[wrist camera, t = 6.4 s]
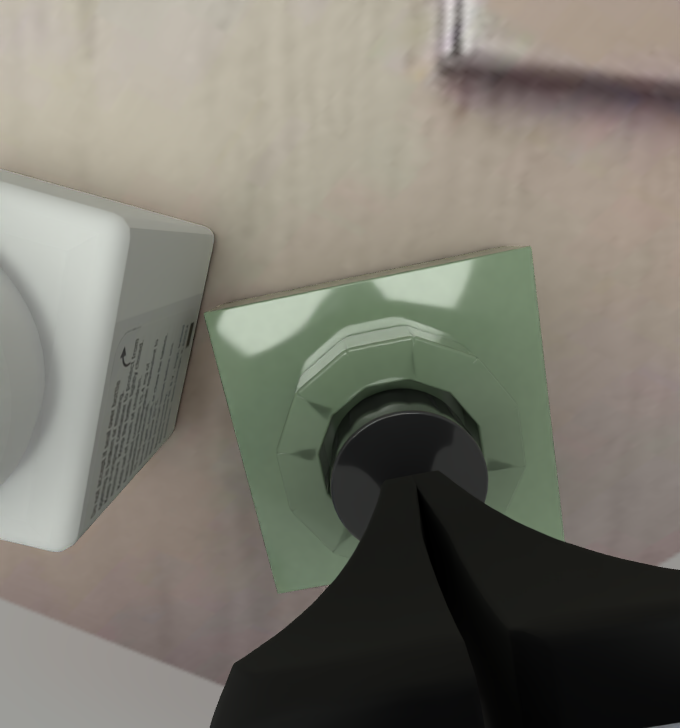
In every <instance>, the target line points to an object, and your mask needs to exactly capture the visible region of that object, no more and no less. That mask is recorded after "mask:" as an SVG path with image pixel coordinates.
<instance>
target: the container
mask: <svg viewBox="0 0 680 728" xmlns="http://www.w3.org/2000/svg"><path fill="white" fill-rule="evenodd" d="M213 244H214V235H213V233H212V231H211V230H210V229H209V228H207V227H206V226H203V225H199V224H196V223H192V222H189V221H185V220H182V219H178V218H174V217H171V216H167V215H164V214H160V213H157V212H153V211H150V210H146V209H143V208H139V207H135V206H132V205H128V204H125V203H121V202H118V201H114V200H111V199H107V198H104V197H100V196H96V195H93V194H89V193H86V192H82V191H79V190H75V189H72V188H68V187H64V186H61V185H57V184H54V183H50V182H47V181H43V180H40V179H36V178H33V177H29V176H25V175H22V174H18V173H15V172H11V171H8V170H4V169H1V168H0V539H1V540H5V541H9V542H14V543H18V544H22V545H26V546H31V547H35V548H39V549H43V550H47V551H52V552H61V551H63V550H65V549H67V548H69V547H71V546H72V545H74V544H75V543H76V542H77V540H78V539H79V538H80V537H81V536H82V535H83V534H84V533H85V531H86V530H87V529H88V528H89V527H90V526H91V525H92V524H93V522H94V521H95V520H96V519H97V518H98V517H99V516H100V515H101V513H102V512H103V511H104V510H105V509H106V508H107V507H108V506H109V504H110V503H111V502H112V501H113V500H114V499H115V498H116V497H117V495H118V494H119V493H120V492H121V491H122V490H123V489H124V488H125V486H126V485H127V484H128V483H129V482H130V481H131V480H132V479H133V477H134V476H135V475H136V474H137V473H138V472H139V471H140V470H141V468H142V467H143V466H144V465H145V464H146V463H147V462H148V461H149V459H150V458H151V457H152V456H153V455H154V454H155V453H156V452H157V450H158V449H159V448H160V447H161V446H162V445H163V444H164V443H165V441H166V440H167V439H168V438H169V437H170V436H171V434H172V433H173V431H174V427H175V422H176V417H177V412H178V408H179V403H180V398H181V394H182V389H183V384H184V380H185V375H186V370H187V366H188V361H189V356H190V352H191V347H192V342H193V338H194V333H195V328H196V324H197V319H198V314H199V310H200V305H201V300H202V296H203V291H204V286H205V282H206V277H207V272H208V268H209V263H210V258H211V253H212V249H213Z"/></svg>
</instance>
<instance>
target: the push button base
mask: <svg viewBox="0 0 680 728" xmlns="http://www.w3.org/2000/svg"><path fill="white" fill-rule="evenodd" d="M204 318H205V321H206V325H207V329H208V333H209V336H210V340H211V344H212V348H213V351H214V355H215V359H216V363H217V367H218V370H219V374H220V378H221V382H222V385H223V389H224V393H225V397H226V400H227V404H228V408H229V412H230V416H231V419H232V423H233V427H234V431H235V434H236V438H237V442H238V446H239V449H240V453H241V457H242V461H243V465H244V468H245V472H246V476H247V480H248V483H249V487H250V491H251V495H252V499H253V502H254V506H255V510H256V514H257V517H258V521H259V525H260V529H261V532H262V536H263V540H264V544H265V548H266V551H267V555H268V559H269V563H270V566H271V570H272V574H273V578H274V581H275V585H276V589H277V592H278V594H280V593H285V592H291V591H296V590H302V589H308V588H313V587H319V586H324V585H330V584H331V583H332V582H333V581H334V580H335V579H336V577H337V576H338V575H339V573H340V572H341V570H342V569H343V568H344V566H345V565H346V563H347V562H348V560H349V559H350V557H351V556H352V554H353V552H354V551H355V549H356V547H357V545H358V544H359V542H360V541H359V540H358V539H356V538H355V537H354V536H353V535H352V534H351V533H350V532H349V531H348V530H347V529H346V528H345V526H344V525H343V524H342V522H341V521H340V519H339V518H338V515H337V513H336V511H335V509H334V506H333V503H332V499H331V492H330V471H331V449H332V442H333V439H334V435H335V433H336V430H337V428H338V426H339V424H340V423H341V421H342V419H343V418H344V417H345V415H346V414H347V413H348V412H349V411H350V410H351V409H352V408H353V407H354V406H355V405H357V404H358V403H359V402H361V401H362V400H364V399H365V398H367V397H369V396H371V395H374V394H376V393H379V392H382V391H386V390H392V389H413V390H418V391H422V392H426V393H428V394H431V395H433V396H435V397H437V398H439V399H440V400H442V401H443V402H445V403H446V404H447V405H448V406H449V407H450V408H451V409H453V410H454V411H455V413H456V414H457V415H458V417H459V418H460V419H461V421H462V422H463V424H464V425H465V427H466V428H467V429H468V431H469V432H470V434H471V435H472V437H473V438H474V439H475V441H476V442H477V444H478V445H479V447H480V449H481V451H482V453H483V455H484V458H485V461H486V465H487V469H488V491H487V496H486V500H485V504H487V505H488V506H490V507H491V508H493V509H495V510H497V511H498V512H500V513H502V514H504V515H506V516H507V517H509V518H511V519H513V520H515V521H517V522H519V523H521V524H523V525H525V526H527V527H530V528H532V529H534V530H536V531H539V532H541V533H543V534H546V535H548V536H550V537H553V538H556V539H558V540H561V541H564V542H565V540H564V531H563V523H562V514H561V505H560V496H559V487H558V479H557V470H556V461H555V452H554V443H553V434H552V426H551V417H550V408H549V399H548V390H547V382H546V373H545V364H544V355H543V346H542V337H541V329H540V320H539V311H538V302H537V293H536V285H535V276H534V267H533V258H532V249H531V246H502V247H497V248H492V249H487V250H482V251H477V252H472V253H468V254H463V255H458V256H453V257H448V258H443V259H438V260H433V261H429V262H424V263H419V264H414V265H409V266H404V267H399V268H394V269H390V270H385V271H380V272H375V273H370V274H365V275H360V276H356V277H351V278H346V279H341V280H336V281H331V282H326V283H321V284H317V285H312V286H307V287H302V288H297V289H292V290H287V291H282V292H278V293H273V294H268V295H263V296H258V297H253V298H248V299H243V300H239V301H234V302H229V303H224V304H221V305H219V306H217V307H215V308H213V309H211V310H209V311H207V312H205V313H204Z"/></svg>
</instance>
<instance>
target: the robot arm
mask: <svg viewBox="0 0 680 728" xmlns="http://www.w3.org/2000/svg"><path fill="white" fill-rule="evenodd" d="M210 728H680V570H676V569H668V568H663V567H657V566H652V565H648V564H643V563H639V562H634V561H629V560H625V559H620V558H617V557H613V556H609V555H605V554H601V553H598V552H595V551H591V550H588V549H585V548H582V547H579V546H576V545H573V544H569V543H567V542H564V541H561V540H558V539H556V538H553V537H550V536H548V535H546V534H543V533H541V532H539V531H536V530H534V529H532V528H530V527H527V526H525V525H523V524H521V523H519V522H517V521H515V520H513V519H511V518H509V517H507V516H506V515H504V514H502V513H500V512H498V511H497V510H495V509H493V508H491V507H490V506H488V505H487V504H485V503H483V502H482V501H480V500H479V499H477V498H476V497H474V496H473V495H471V494H470V493H468V492H467V491H466V490H464V489H463V488H462V487H460V486H459V485H458V484H456V483H455V482H454V481H452V480H451V479H450V478H448V477H447V476H446V475H444V474H443V473H441V472H440V471H439V470H436V471H431V472H426V473H420V474H415V475H410V476H404V477H399V478H394V479H388V480H385V481H384V482H383V484H382V485H381V490H380V495H379V498H378V501H377V504H376V507H375V510H374V512H373V515H372V517H371V519H370V522H369V524H368V526H367V528H366V530H365V532H364V534H363V536H362V538H361V540H360V542H359V544H358V545H357V547H356V549H355V551H354V552H353V554H352V556H351V557H350V559H349V560H348V562H347V563H346V565H345V566H344V568H343V569H342V570H341V572H340V573H339V575H338V576H337V577H336V579H335V580H334V581H333V582H332V583H331V584H330V585H329V586H328V588H327V589H326V590H325V591H324V592H323V593H322V594H321V595H320V596H319V597H318V599H317V600H316V601H315V602H314V603H313V604H312V605H311V606H310V607H308V608H307V609H306V610H305V611H304V612H303V613H302V614H301V615H300V616H299V617H297V618H296V619H295V620H294V621H293V622H292V623H290V624H289V625H288V626H287V627H286V628H284V629H283V630H282V631H281V632H279V633H278V634H277V635H275V636H274V637H273V638H271V639H270V640H268V641H267V642H265V643H264V644H262V645H261V646H260V647H258V648H257V649H255V650H254V651H252V652H251V653H250V654H248V655H247V656H245V657H244V658H242V659H241V660H239V661H237V662H236V663H234V665H233V666H232V669H231V671H230V674H229V677H228V679H227V682H226V684H225V687H224V689H223V692H222V694H221V696H220V699H219V702H218V704H217V707H216V710H215V712H214V715H213V718H212V722H211V725H210Z"/></svg>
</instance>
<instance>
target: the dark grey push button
mask: <svg viewBox="0 0 680 728" xmlns="http://www.w3.org/2000/svg"><path fill="white" fill-rule="evenodd" d="M436 470H439V471H440V472H441V473H443V474H444V475H446V476H447V477H448V478H450V479H451V480H452V481H454V482H455V483H456V484H458V485H459V486H460V487H462V488H463V489H464V490H466V491H467V492H468V493H470V494H471V495H473V496H474V497H476V498H477V499H479V500H480V501H482V502H483V503H485V500H486V496H487V491H488V469H487V465H486V461H485V458H484V455H483V453H482V451H481V449H480V447H479V445H478V444H477V442H476V441H475V439H474V438H473V437H472V435H471V434H470V432H469V431H468V429H467V428H466V427H465V425H464V424H463V422H462V421H461V419H460V418H459V417H458V415H457V414H456V413H455V411H454V410H453V409H451V408H450V407H449V406H448V405H447V404H446V403H445V402H443V401H442V400H440V399H439V398H437V397H435V396H433V395H431V394H428V393H426V392H422V391H418V390H413V389H392V390H386V391H382V392H379V393H376V394H374V395H371V396H369V397H367V398H365V399H364V400H362V401H361V402H359V403H358V404H357V405H355V406H354V407H353V408H352V409H351V410H350V411H349V412H348V413H347V414H346V415H345V417H344V418H343V419H342V421H341V423H340V424H339V426H338V428H337V430H336V433H335V435H334V439H333V442H332V449H331V471H330V492H331V499H332V503H333V506H334V509H335V511H336V513H337V515H338V518H339V519H340V521H341V522H342V524H343V525H344V526H345V528H346V529H347V530H348V531H349V532H350V533H351V534H352V535H353V536H354V537H355V538H356V539H358V540H359V541H360V540H361V538H362V536H363V534H364V532H365V530H366V528H367V526H368V524H369V522H370V519H371V517H372V515H373V512H374V510H375V507H376V504H377V501H378V498H379V495H380V490H381V485H382V484H383V482H384V481H385V480H388V479H394V478H399V477H404V476H410V475H415V474H420V473H426V472H431V471H436Z"/></svg>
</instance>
